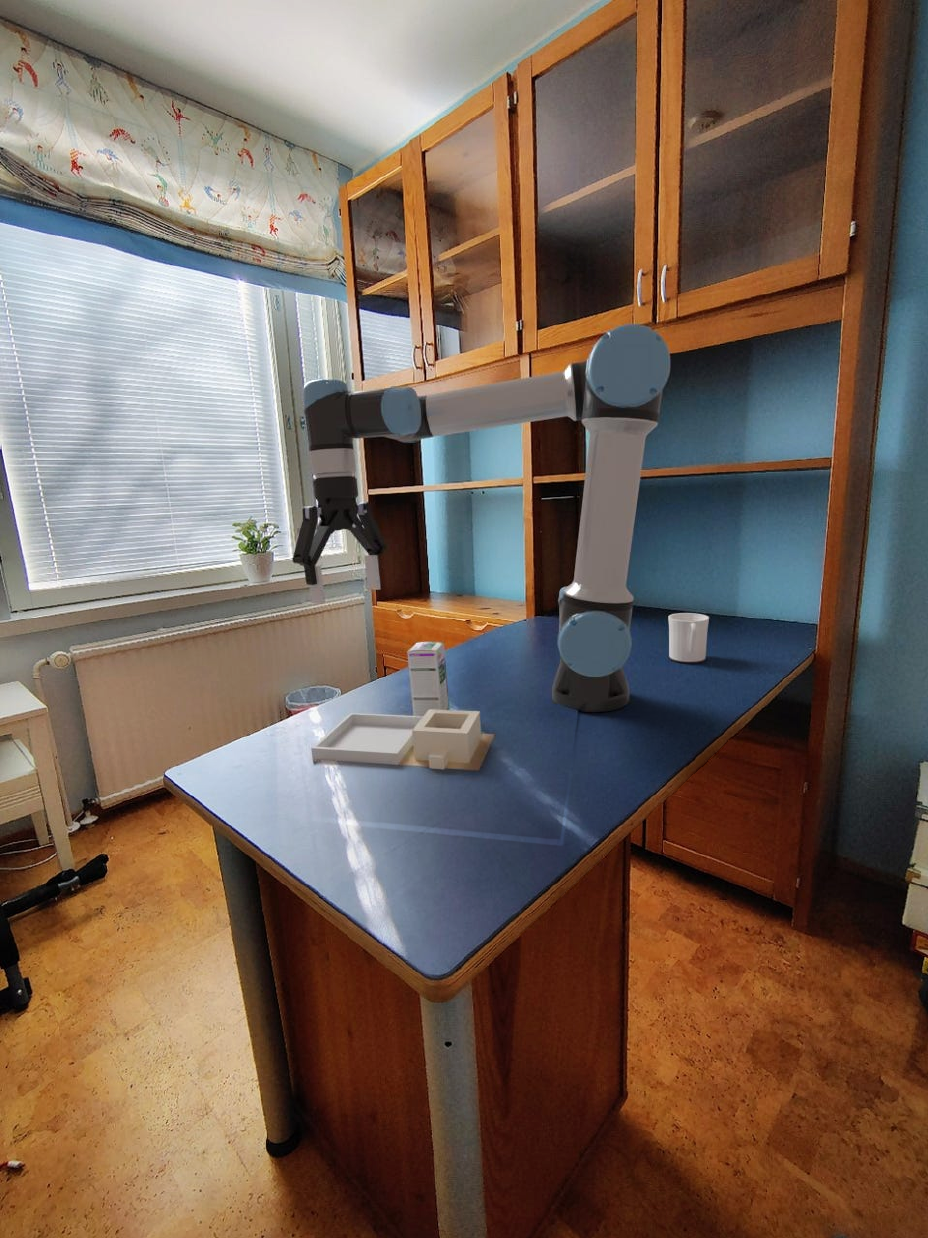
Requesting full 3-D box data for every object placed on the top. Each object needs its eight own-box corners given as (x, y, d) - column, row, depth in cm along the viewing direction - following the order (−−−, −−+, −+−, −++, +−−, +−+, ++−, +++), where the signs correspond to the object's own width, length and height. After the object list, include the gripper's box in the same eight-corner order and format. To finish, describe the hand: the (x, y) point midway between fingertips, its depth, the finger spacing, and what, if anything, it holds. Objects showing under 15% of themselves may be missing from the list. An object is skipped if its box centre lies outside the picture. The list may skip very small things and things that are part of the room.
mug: (663, 654, 141) (664, 613, 139) (701, 653, 140) (703, 612, 138) (673, 667, 131) (674, 624, 129) (714, 667, 130) (716, 623, 127)
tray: (427, 729, 105) (426, 716, 104) (398, 768, 90) (397, 753, 90) (351, 725, 108) (350, 713, 108) (312, 762, 94) (311, 748, 94)
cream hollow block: (481, 738, 98) (479, 711, 97) (465, 770, 87) (463, 740, 86) (431, 736, 100) (429, 709, 99) (409, 767, 89) (406, 737, 88)
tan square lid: (495, 737, 100) (494, 718, 99) (478, 773, 87) (477, 752, 86) (423, 733, 103) (422, 715, 102) (398, 768, 90) (396, 747, 90)
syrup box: (443, 724, 106) (438, 649, 103) (412, 723, 107) (406, 649, 104) (450, 713, 112) (445, 641, 109) (420, 712, 113) (415, 641, 110)
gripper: (370, 476, 112) (380, 583, 117) (259, 479, 92) (277, 607, 97) (398, 473, 107) (408, 585, 112) (288, 476, 88) (306, 610, 93)
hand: (347, 595), depth 105 cm, fingers open, 13 cm apart
